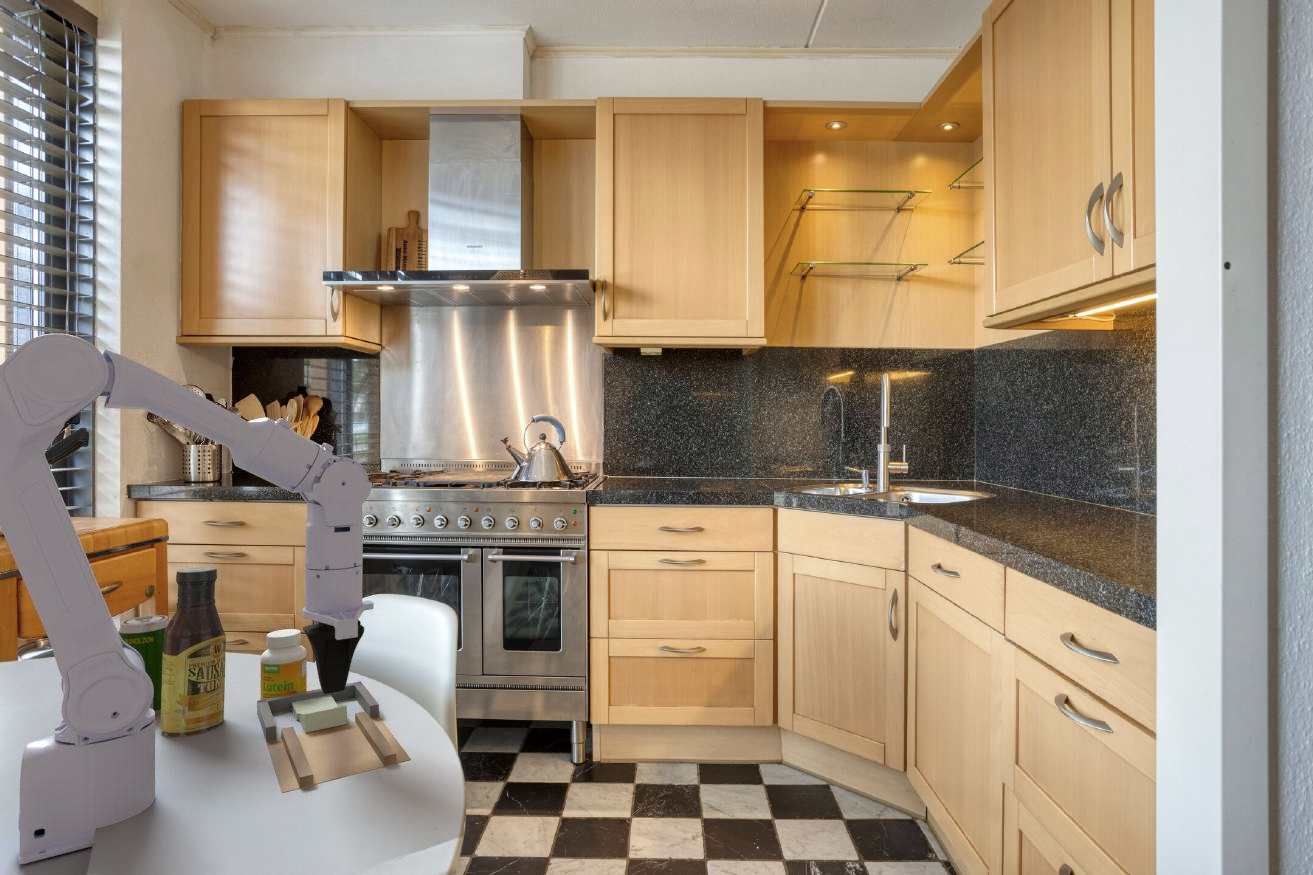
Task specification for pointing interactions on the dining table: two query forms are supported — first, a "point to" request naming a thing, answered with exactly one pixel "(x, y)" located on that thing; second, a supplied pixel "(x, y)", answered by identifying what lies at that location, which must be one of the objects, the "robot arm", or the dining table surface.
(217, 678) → the sauce bottle
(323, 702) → the tile far
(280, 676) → the supplement bottle
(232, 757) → the dining table surface
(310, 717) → the tile near
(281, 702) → the box
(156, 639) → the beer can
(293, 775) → the board
